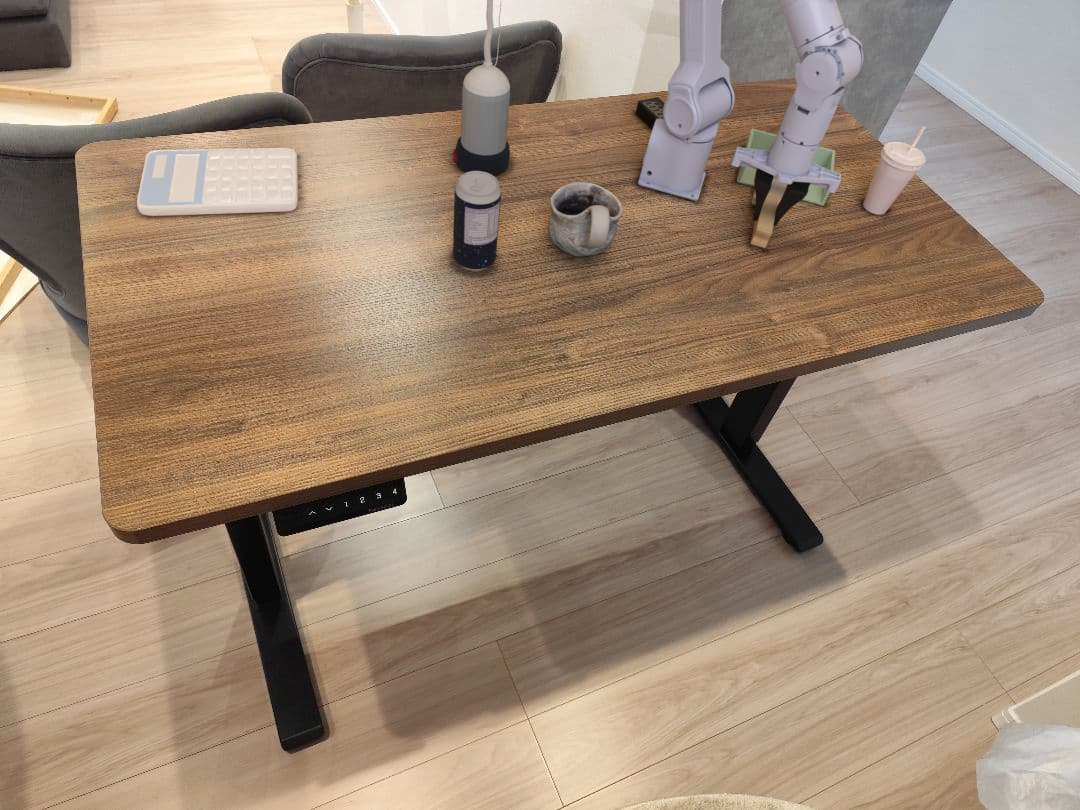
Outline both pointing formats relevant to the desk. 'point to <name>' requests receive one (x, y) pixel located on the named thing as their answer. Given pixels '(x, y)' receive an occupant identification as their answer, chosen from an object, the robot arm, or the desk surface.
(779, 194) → the fork
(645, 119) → the multiport hub
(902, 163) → the smoothie
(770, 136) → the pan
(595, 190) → the mug
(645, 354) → the desk surface
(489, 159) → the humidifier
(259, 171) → the calculator
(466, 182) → the beverage can
